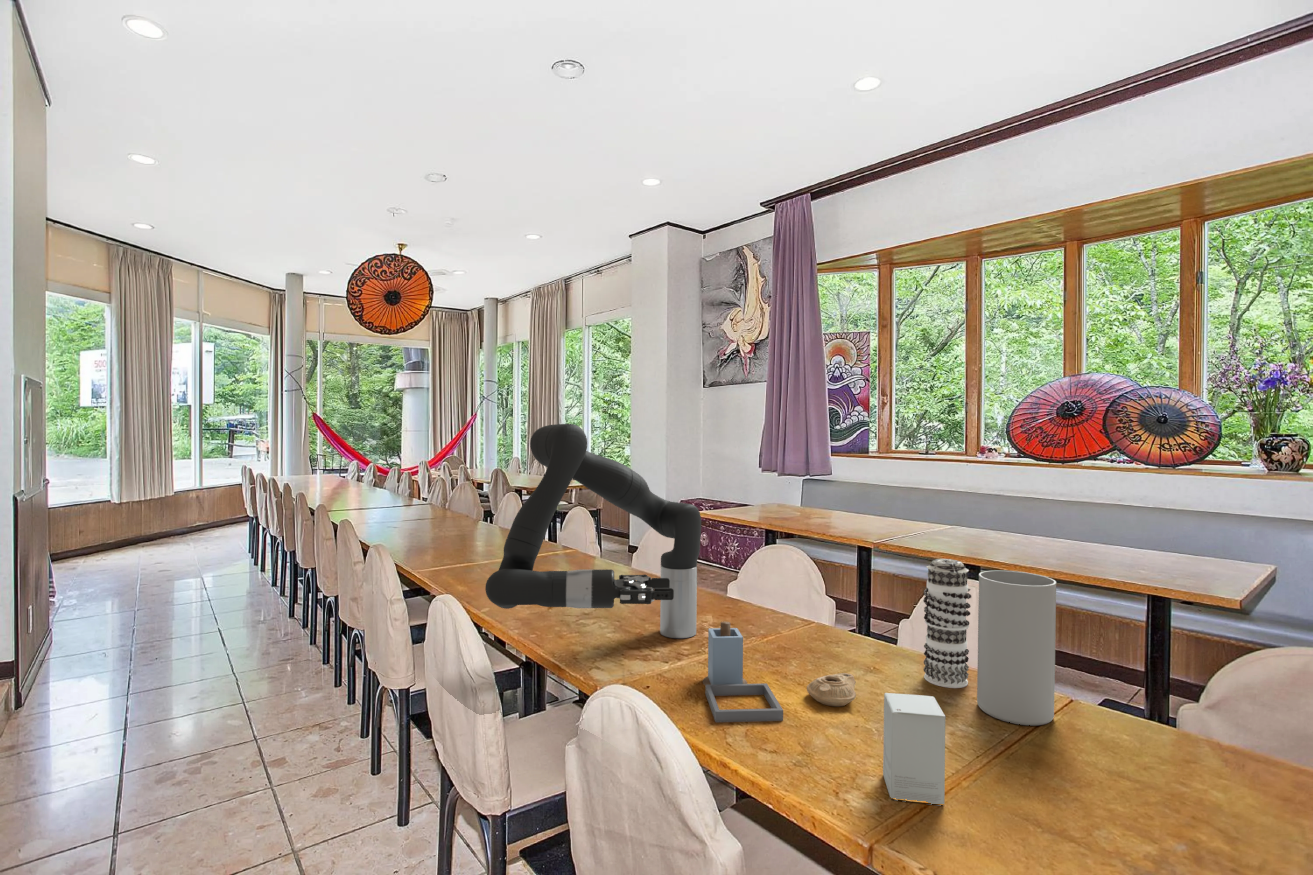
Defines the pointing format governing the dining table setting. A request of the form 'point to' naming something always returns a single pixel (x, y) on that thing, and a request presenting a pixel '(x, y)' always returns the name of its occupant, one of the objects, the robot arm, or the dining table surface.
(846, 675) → the pottery oil lamp
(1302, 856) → the dining table surface
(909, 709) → the supplement box
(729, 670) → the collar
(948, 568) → the decorative candle
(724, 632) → the box
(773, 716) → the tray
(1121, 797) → the dining table surface
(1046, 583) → the cylinder vase
